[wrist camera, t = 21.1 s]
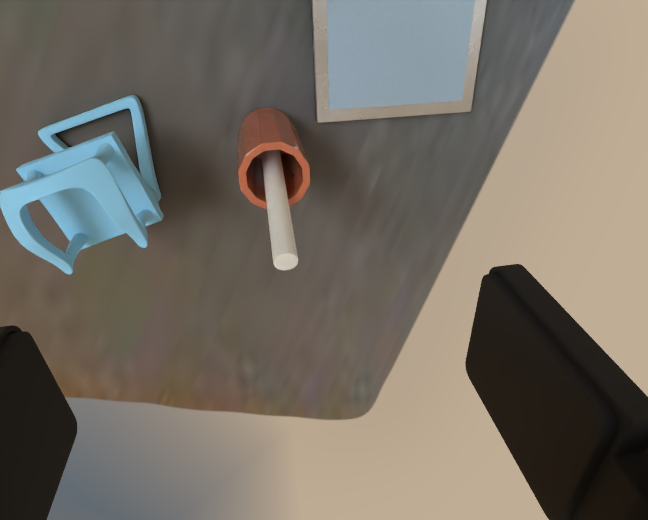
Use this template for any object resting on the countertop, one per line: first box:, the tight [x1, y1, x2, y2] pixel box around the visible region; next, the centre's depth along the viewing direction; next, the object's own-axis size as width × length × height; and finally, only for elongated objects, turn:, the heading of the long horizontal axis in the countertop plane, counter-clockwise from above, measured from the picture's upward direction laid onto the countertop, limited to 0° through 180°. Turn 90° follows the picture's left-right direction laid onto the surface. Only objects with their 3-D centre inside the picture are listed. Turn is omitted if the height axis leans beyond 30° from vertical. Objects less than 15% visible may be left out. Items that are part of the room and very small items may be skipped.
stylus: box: [261, 150, 298, 270], centre depth 30 cm, size 1×1×15 cm
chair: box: [0, 95, 164, 274], centre depth 30 cm, size 8×8×12 cm
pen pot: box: [238, 108, 310, 209], centre depth 33 cm, size 5×5×9 cm
